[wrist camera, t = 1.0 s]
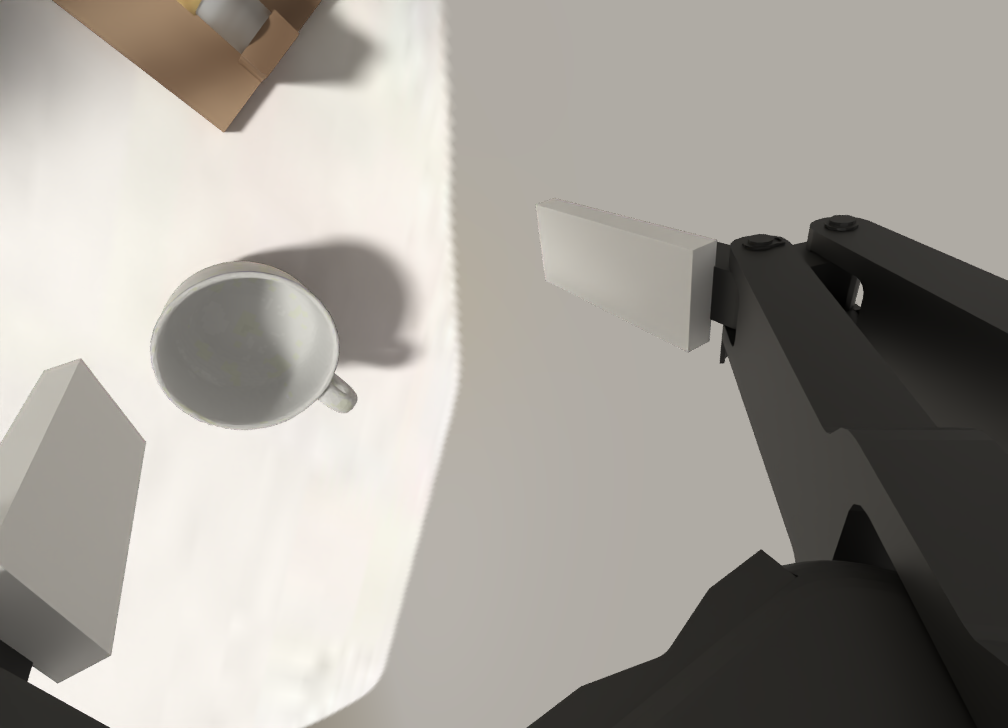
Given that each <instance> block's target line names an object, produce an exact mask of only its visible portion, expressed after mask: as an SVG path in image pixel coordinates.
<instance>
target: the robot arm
mask: <svg viewBox="0 0 1008 728" xmlns="http://www.w3.org/2000/svg"><path fill="white" fill-rule="evenodd" d="M536 212H537V220H538V228H539V236H540V243H541V251H542V258H543V266H544V274H545V281H547V282H549V283H551V284H553V285H555V286H557V287H559V288H561V289H563V290H565V291H567V292H569V293H571V294H573V295H575V296H577V297H579V298H581V299H583V300H585V301H587V302H589V303H591V304H593V305H595V306H597V307H599V308H601V309H603V310H605V311H607V312H609V313H611V314H613V315H615V316H617V317H619V318H621V319H623V320H625V321H626V322H628V323H631V324H632V325H635V326H636V327H638V328H640V329H642V330H644V331H646V332H648V333H650V334H652V335H654V336H656V337H659V338H661V339H662V340H664V341H666V342H668V343H670V344H672V345H674V346H676V347H678V348H680V349H682V350H684V351H686V352H690V351H692V350H694V349H696V348H698V347H699V346H701V345H703V344H705V343H707V342H709V340H710V327H711V320H714V321H716V322H718V323H721V324H723V333H722V343H721V354H720V363H724V362H725V358H726V357H727V356H728V358H729V361H730V364H731V367H732V370H733V373H734V376H735V379H736V382H737V385H738V388H739V390H740V393H741V397H742V400H743V402H744V405H745V408H746V411H747V414H748V417H749V420H750V423H751V426H752V429H753V432H754V435H755V438H756V441H757V444H758V447H759V450H760V453H761V455H762V459H763V461H764V465H765V467H766V470H767V473H768V476H769V479H770V482H771V485H772V488H773V491H774V494H775V497H776V500H777V503H778V506H779V509H780V512H781V515H782V518H783V521H784V524H785V527H786V530H787V533H788V536H789V538H790V541H791V544H792V547H793V551H794V556H795V562H796V563H793V564H788V565H783V566H782V565H780V564H779V563H778V562H776V561H775V560H774V559H773V558H771V557H770V556H769V555H768V554H766V553H765V552H764V551H763V550H760V551H758V552H757V553H756V554H754V555H753V556H752V557H750V558H749V559H748V560H746V561H745V562H744V563H742V564H741V565H740V566H739V567H737V568H736V569H735V570H733V571H732V572H731V573H729V574H728V575H727V576H725V577H724V578H723V579H721V580H720V581H719V582H718V583H716V584H715V585H714V586H712V587H711V588H710V589H709V590H708V591H707V593H706V594H705V596H704V597H703V599H702V600H701V602H700V603H699V605H698V606H697V608H696V609H695V611H694V613H693V614H692V615H691V617H690V618H689V620H688V621H687V623H686V625H685V626H684V627H683V629H682V631H681V632H680V633H679V635H678V636H677V638H676V639H675V641H674V642H673V644H672V645H671V647H670V648H669V650H668V651H667V652H666V653H665V654H663V655H662V656H660V657H658V658H656V659H653V660H650V661H647V662H645V663H642V664H639V665H637V666H634V667H632V668H629V669H626V670H623V671H621V672H618V673H616V674H613V675H611V676H608V677H605V678H603V679H600V680H597V681H594V682H592V683H589V684H586V685H584V686H581V687H580V688H578V689H577V690H576V691H574V692H573V693H572V694H570V695H569V696H568V697H566V698H565V699H564V700H562V701H561V702H560V703H559V704H557V705H556V706H555V707H553V708H552V709H551V710H549V711H548V712H547V713H546V714H544V715H543V716H542V717H540V718H539V719H538V720H536V721H535V722H534V723H532V724H531V725H530V726H528V727H527V728H1008V280H1005V279H1003V278H1000V277H998V276H995V275H993V274H991V273H989V272H986V271H984V270H982V269H979V268H977V267H975V266H972V265H970V264H968V263H966V262H963V261H961V260H959V259H956V258H954V257H952V256H949V255H947V254H945V253H942V252H940V251H938V250H936V249H933V248H931V247H928V246H926V245H924V244H921V243H919V242H917V241H914V240H912V239H910V238H908V237H905V236H903V235H901V234H898V233H896V232H894V231H891V230H889V229H887V228H884V227H882V226H880V225H877V224H875V223H873V222H870V221H868V220H864V219H861V218H855V217H852V216H849V215H835V216H833V217H829V218H822V219H819V220H816V221H814V222H812V223H811V224H810V229H809V234H808V240H807V242H804V243H799V244H795V245H792V244H791V243H790V242H789V241H788V240H786V239H784V238H782V237H777V236H770V235H766V234H758V235H752V236H747V237H742V238H739V239H736V240H734V241H733V242H732V243H731V245H727V244H724V243H720V242H717V240H716V239H712V238H708V237H704V236H700V235H696V234H692V233H689V232H685V231H681V230H677V229H673V228H669V227H665V226H661V225H657V224H653V223H650V222H646V221H642V220H638V219H634V218H630V217H626V216H622V215H619V214H615V213H610V212H607V211H603V210H599V209H595V208H591V207H588V206H584V205H580V204H576V203H572V202H567V201H564V200H560V199H556V198H553V199H550V200H547V201H544V202H541V203H538V204H536ZM860 282H861V284H862V286H863V291H864V294H863V300H862V304H861V307H860V306H858V305H857V304H855V301H856V297H857V293H858V289H859V285H860ZM145 445H146V441H145V440H144V439H143V438H142V436H141V435H140V434H139V432H138V431H137V430H136V428H135V427H134V426H133V425H132V423H131V422H130V421H129V419H128V418H127V417H126V416H125V414H124V413H123V412H122V410H121V409H120V408H119V407H118V405H117V404H116V403H115V401H114V400H113V399H112V398H111V396H110V395H109V394H108V392H107V391H106V390H105V389H104V387H103V386H102V385H101V383H100V382H99V381H98V379H97V378H96V377H95V376H94V374H93V373H92V372H91V370H90V369H89V368H88V367H87V365H86V364H85V363H84V361H83V360H82V359H81V358H80V359H77V360H74V361H71V362H68V363H65V364H62V365H59V366H56V367H53V368H50V369H47V370H44V371H43V373H42V375H41V376H40V378H39V380H38V381H37V383H36V385H35V386H34V388H33V390H32V391H31V393H30V395H29V396H28V398H27V400H26V401H25V403H24V405H23V407H22V408H21V410H20V412H19V413H18V415H17V417H16V418H15V420H14V422H13V423H12V425H11V427H10V428H9V430H8V432H7V433H6V435H5V437H4V438H3V440H2V442H1V444H0V728H110V727H108V726H106V725H104V724H102V723H101V722H99V721H97V720H95V719H93V718H92V717H90V716H88V715H86V714H84V713H82V712H81V711H79V710H77V709H75V708H73V707H72V706H70V705H68V704H66V703H64V702H63V701H61V700H59V699H57V698H55V697H54V696H52V695H50V694H48V693H46V692H45V691H43V690H41V689H39V688H37V687H36V686H34V685H32V684H30V683H28V682H27V681H28V678H29V674H30V671H31V668H32V666H33V667H35V668H36V669H37V670H39V671H40V672H42V673H43V674H45V675H46V676H48V677H49V678H50V679H52V680H53V681H55V682H56V683H59V682H61V681H63V680H65V679H67V678H69V677H71V676H73V675H75V674H77V673H78V672H80V671H82V670H84V669H86V668H88V667H90V666H92V665H94V664H96V663H98V662H99V661H101V660H103V659H105V658H107V657H109V656H111V653H112V647H113V641H114V635H115V629H116V622H117V616H118V610H119V604H120V598H121V592H122V586H123V580H124V573H125V567H126V561H127V555H128V549H129V543H130V537H131V531H132V524H133V518H134V512H135V506H136V500H137V494H138V488H139V482H140V475H141V469H142V463H143V457H144V451H145Z"/></svg>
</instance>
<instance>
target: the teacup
mask: <svg viewBox="0 0 1008 728" xmlns="http://www.w3.org/2000/svg"><path fill="white" fill-rule="evenodd" d="M150 354H151V363H152V368H153V370H154V373H155V377H156V380H157V382H158V384H159V385H160V387H161V389H162V390H163V392H164V393H165V394H166V396H167V397H168V398H169V400H171V401H172V402H173V403H174V404H175V405H176V406H177V407H178V408H179V409H181V410H182V411H183V412H185V413H187V414H188V415H190V416H191V417H193V418H195V419H197V420H198V421H200V422H204V423H207V424H209V425H215V426H217V427H222V428H225V429H234V430H252V429H260V428H266V427H270V426H274V425H277V424H279V423H282V422H285V421H287V420H289V419H291V418H293V417H295V416H296V415H298V414H299V413H301V412H302V411H304V410H305V409H307V408H308V407H309V406H310V405H311V404H313V403H314V402H315V401H316V400H317V399H318V400H319V401H320V402H322V403H323V404H325V405H326V406H327V407H329V408H331V409H332V410H334V411H337V412H339V413H347V412H349V411H350V410H352V409H353V407H354V406H355V404H356V403H357V394H356V393H355V392H354V390H353V389H352V388H351V387H350V386H349V385H348V384H347V383H346V382H345V381H343V380H342V379H341V378H340V377H339V376H337V375H336V374H335V373H334V372H335V369H336V367H337V363H338V356H339V337H338V332H337V329H336V326H335V323H334V321H333V319H332V317H331V315H330V313H329V312H328V310H327V309H326V308H325V306H324V305H323V304H322V302H321V301H320V300H319V299H318V298H317V297H316V296H315V295H313V294H312V293H311V292H310V291H309V290H308V289H307V288H306V287H305V286H304V285H303V284H301V283H300V282H299V281H298V280H297V279H295V278H294V277H292V276H291V275H289V274H287V273H286V272H284V271H282V270H279V269H277V268H275V267H272V266H269V265H265V264H261V263H256V262H248V261H234V262H226V263H221V264H217V265H213V266H210V267H208V268H205V269H203V270H201V271H199V272H197V273H195V274H194V275H192V276H191V277H189V278H188V279H186V280H185V281H184V282H183V283H182V284H181V285H180V286H179V287H178V288H177V289H176V290H175V291H174V293H173V294H172V295H171V297H170V298H169V300H168V302H167V303H166V305H165V307H164V309H163V312H162V314H161V316H160V317H159V319H158V321H157V323H156V325H155V327H154V330H153V334H152V338H151V345H150Z"/></svg>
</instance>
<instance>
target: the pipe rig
mask: <svg viewBox="0 0 1008 728" xmlns="http://www.w3.org/2000/svg"><path fill="white" fill-rule="evenodd" d="M52 1H54V2H55V3H56V4H58V5H59V6H60V7H62V8H63V9H64V10H65V11H67V12H68V13H69V14H71V15H72V16H73V17H75V18H76V19H77V20H78V21H80V22H81V23H82V24H84V25H85V26H86V27H88V28H89V29H90V30H91V31H93V32H94V33H95V34H97V35H98V36H99V37H100V38H102V39H103V40H104V41H106V42H107V43H108V44H110V45H111V46H112V47H113V48H115V49H116V50H117V51H119V52H120V53H121V54H123V55H124V56H125V57H126V58H128V59H129V60H130V61H132V62H133V63H134V64H136V65H137V66H138V67H139V68H141V69H142V70H143V71H145V72H146V73H147V74H148V75H150V76H151V77H152V78H154V79H155V80H156V81H158V82H159V83H160V84H161V85H163V86H164V87H165V88H167V89H168V90H169V91H171V92H172V93H173V94H174V95H176V96H177V97H178V98H180V99H181V100H182V101H184V102H185V103H186V104H187V105H189V106H190V107H191V108H193V109H194V110H195V111H196V112H198V113H199V114H200V115H202V116H203V117H204V118H206V119H207V120H208V121H209V122H211V123H212V124H213V125H215V126H216V127H217V128H219V129H220V130H221V131H222V132H225V130H226V129H227V128H228V126H229V125H230V124H231V122H232V121H233V120H234V118H235V117H236V115H237V114H238V113H239V111H240V110H241V109H242V107H243V106H244V105H245V103H246V102H247V101H248V99H249V98H250V97H251V95H252V94H253V93H254V91H255V90H256V88H257V87H258V86H259V84H260V83H261V82H262V81H263V80H265V79H266V78H267V77H268V76H269V74H270V73H271V72H272V70H273V69H274V68H275V66H276V65H277V64H278V62H279V61H280V60H281V58H282V57H283V56H284V54H285V53H286V51H287V50H288V49H289V47H290V46H291V45H292V43H293V42H294V41H295V39H296V38H297V37H298V35H299V33H298V32H299V30H300V29H301V28H302V26H303V25H304V24H305V22H306V21H307V20H308V18H309V17H310V16H311V14H312V13H313V12H314V10H315V9H316V8H317V6H318V5H319V3H320V2H321V1H322V0H52Z"/></svg>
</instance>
